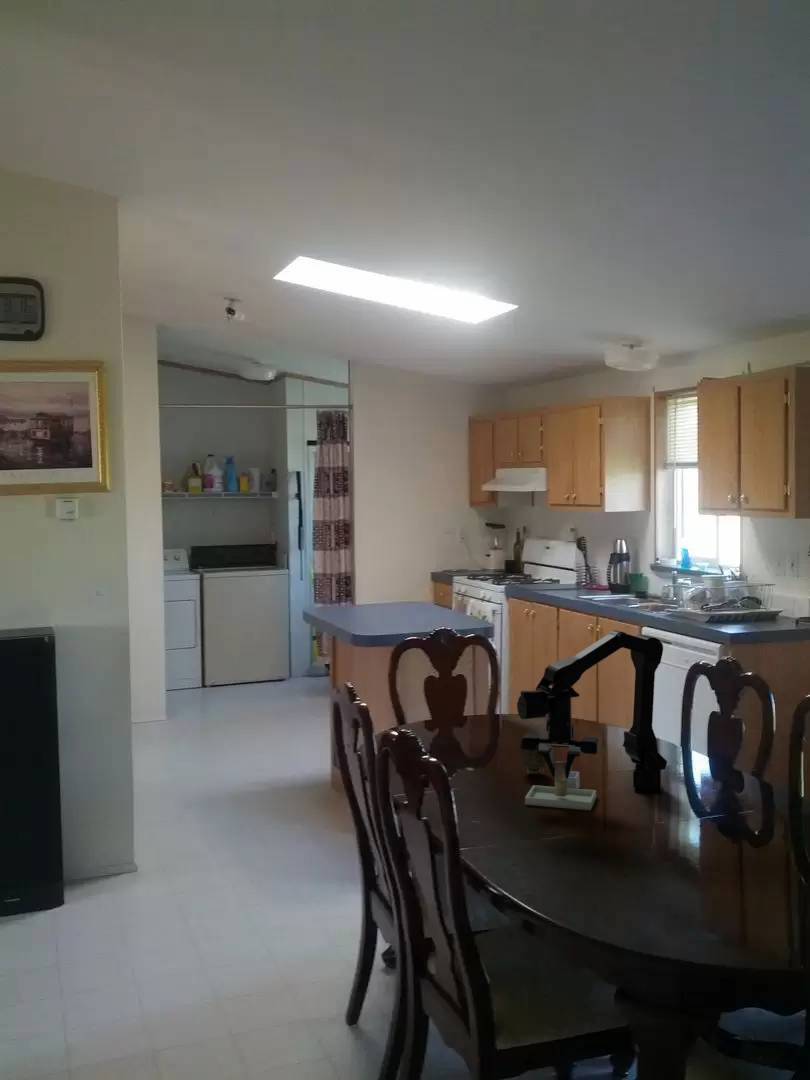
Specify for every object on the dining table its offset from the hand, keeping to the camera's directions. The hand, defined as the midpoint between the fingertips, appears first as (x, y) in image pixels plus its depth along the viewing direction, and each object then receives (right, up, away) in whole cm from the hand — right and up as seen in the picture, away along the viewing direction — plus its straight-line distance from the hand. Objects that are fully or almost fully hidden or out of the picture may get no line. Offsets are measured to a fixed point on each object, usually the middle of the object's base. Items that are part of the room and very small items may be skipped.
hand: (560, 777), depth 232 cm
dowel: (0, -4, 0) cm, 4 cm away
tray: (0, -6, 0) cm, 6 cm away
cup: (-4, -5, +23) cm, 24 cm away
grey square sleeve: (+3, -5, +9) cm, 11 cm away
